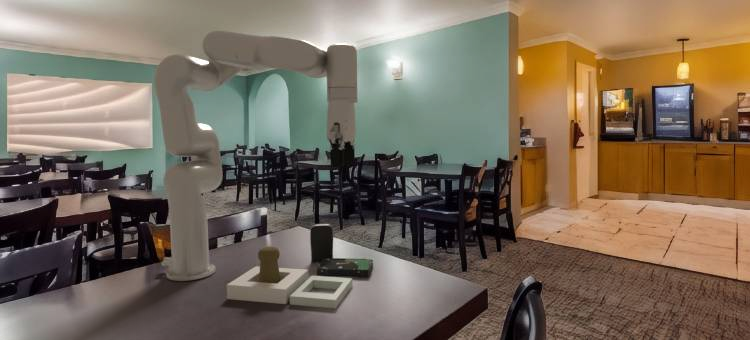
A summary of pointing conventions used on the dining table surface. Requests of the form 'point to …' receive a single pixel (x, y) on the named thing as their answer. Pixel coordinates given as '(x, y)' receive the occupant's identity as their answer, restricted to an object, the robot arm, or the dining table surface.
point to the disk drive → (345, 267)
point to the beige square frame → (266, 286)
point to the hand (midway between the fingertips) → (343, 165)
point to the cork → (269, 265)
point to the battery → (321, 242)
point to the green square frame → (320, 299)
